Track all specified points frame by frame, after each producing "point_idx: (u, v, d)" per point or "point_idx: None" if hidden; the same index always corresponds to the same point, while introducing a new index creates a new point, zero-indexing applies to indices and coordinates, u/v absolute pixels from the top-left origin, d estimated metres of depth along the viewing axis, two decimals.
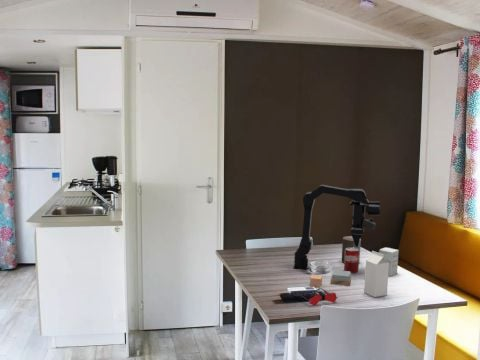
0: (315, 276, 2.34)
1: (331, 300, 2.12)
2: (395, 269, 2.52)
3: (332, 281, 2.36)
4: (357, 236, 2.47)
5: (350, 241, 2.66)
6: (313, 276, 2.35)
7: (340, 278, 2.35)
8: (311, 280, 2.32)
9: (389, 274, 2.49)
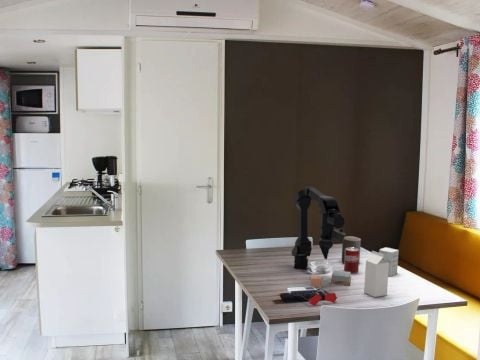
0: (315, 276, 2.34)
1: (331, 300, 2.12)
2: (395, 269, 2.52)
3: (332, 281, 2.36)
4: (326, 248, 2.31)
5: (350, 241, 2.66)
6: (313, 276, 2.35)
7: (340, 278, 2.35)
8: (311, 280, 2.32)
9: (389, 274, 2.49)
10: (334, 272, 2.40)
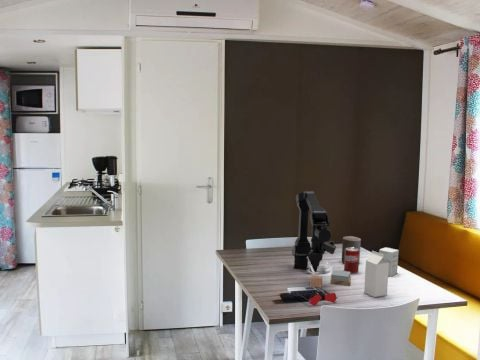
0: (315, 276, 2.34)
1: (331, 300, 2.12)
2: (395, 269, 2.52)
3: (332, 281, 2.36)
4: (315, 261, 2.27)
5: (350, 241, 2.66)
6: (313, 276, 2.35)
7: (339, 278, 2.35)
8: (311, 280, 2.32)
9: (389, 274, 2.49)
10: (334, 272, 2.40)
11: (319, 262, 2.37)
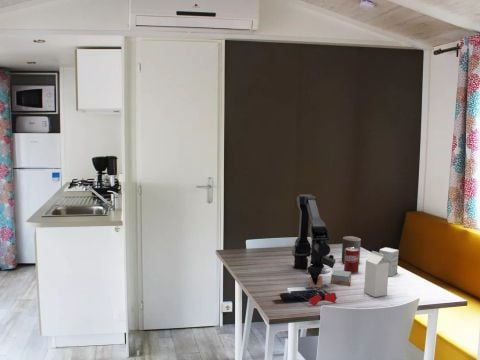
0: None
1: (331, 300, 2.11)
2: (395, 269, 2.52)
3: (332, 281, 2.36)
4: (315, 274, 2.30)
5: (350, 241, 2.66)
6: None
7: (339, 278, 2.35)
8: (311, 280, 2.32)
9: (389, 274, 2.49)
10: (334, 272, 2.40)
11: None
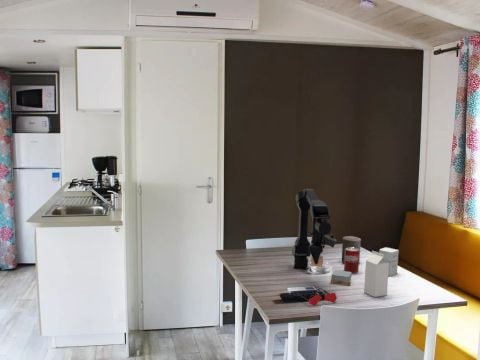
0: None
1: (331, 300, 2.11)
2: (395, 269, 2.52)
3: (332, 281, 2.36)
4: (316, 253, 2.29)
5: (350, 241, 2.66)
6: None
7: (339, 278, 2.35)
8: (312, 259, 2.31)
9: (389, 274, 2.49)
10: (335, 272, 2.40)
11: None
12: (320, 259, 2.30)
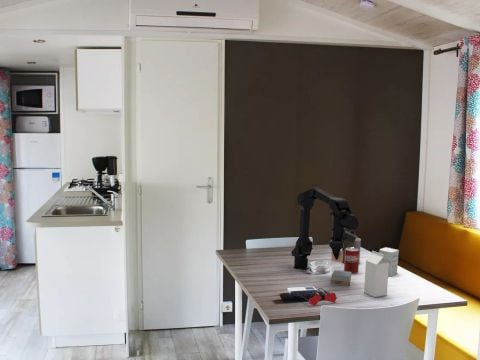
0: None
1: (331, 300, 2.11)
2: (395, 269, 2.52)
3: (332, 281, 2.36)
4: (337, 249, 2.32)
5: None
6: None
7: (339, 278, 2.35)
8: (332, 255, 2.35)
9: (389, 274, 2.49)
10: (334, 272, 2.40)
11: None
12: (340, 254, 2.33)
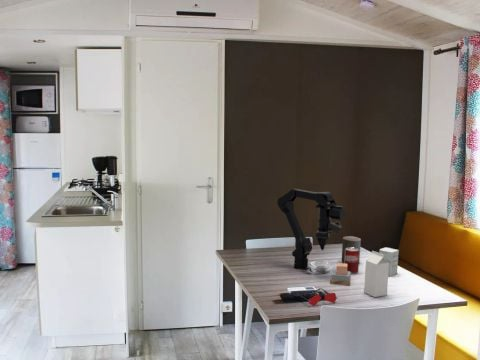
0: (341, 264, 2.39)
1: (331, 300, 2.11)
2: (395, 269, 2.52)
3: (332, 281, 2.36)
4: (322, 239, 2.45)
5: (350, 241, 2.66)
6: (339, 264, 2.39)
7: (340, 278, 2.35)
8: (337, 268, 2.37)
9: (389, 274, 2.49)
10: (334, 272, 2.40)
11: None
12: (345, 267, 2.36)
